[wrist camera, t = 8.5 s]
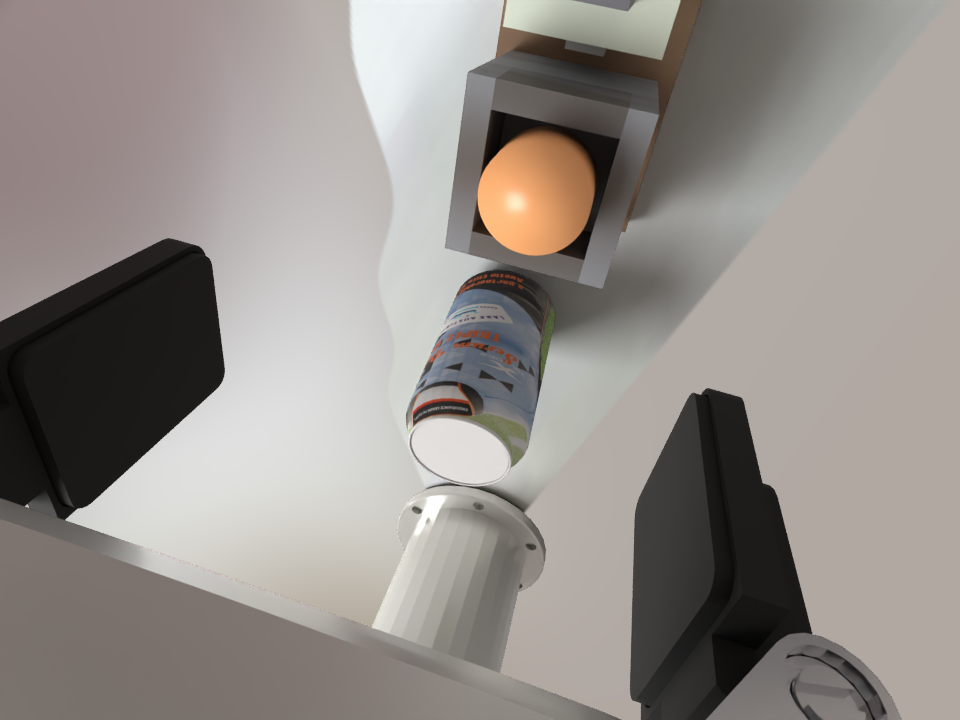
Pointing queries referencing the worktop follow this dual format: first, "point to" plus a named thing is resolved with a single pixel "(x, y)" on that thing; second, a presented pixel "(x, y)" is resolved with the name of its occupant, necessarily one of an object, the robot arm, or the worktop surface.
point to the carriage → (599, 22)
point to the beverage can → (482, 380)
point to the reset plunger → (538, 191)
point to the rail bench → (577, 109)
